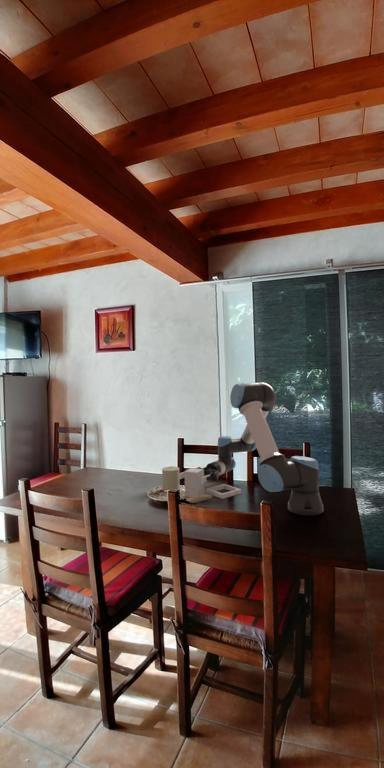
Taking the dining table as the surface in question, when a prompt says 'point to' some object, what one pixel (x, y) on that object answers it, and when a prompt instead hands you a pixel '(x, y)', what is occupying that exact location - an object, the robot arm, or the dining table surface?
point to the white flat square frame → (231, 492)
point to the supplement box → (194, 483)
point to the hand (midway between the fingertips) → (190, 478)
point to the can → (170, 478)
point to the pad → (194, 500)
